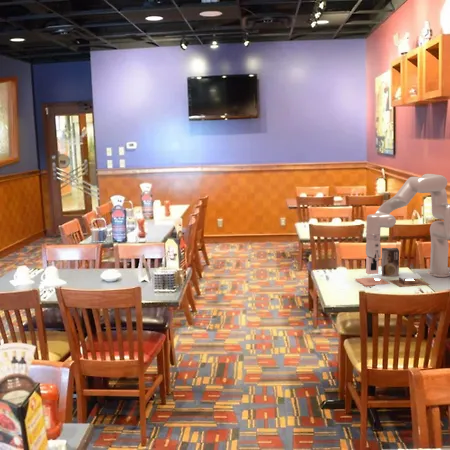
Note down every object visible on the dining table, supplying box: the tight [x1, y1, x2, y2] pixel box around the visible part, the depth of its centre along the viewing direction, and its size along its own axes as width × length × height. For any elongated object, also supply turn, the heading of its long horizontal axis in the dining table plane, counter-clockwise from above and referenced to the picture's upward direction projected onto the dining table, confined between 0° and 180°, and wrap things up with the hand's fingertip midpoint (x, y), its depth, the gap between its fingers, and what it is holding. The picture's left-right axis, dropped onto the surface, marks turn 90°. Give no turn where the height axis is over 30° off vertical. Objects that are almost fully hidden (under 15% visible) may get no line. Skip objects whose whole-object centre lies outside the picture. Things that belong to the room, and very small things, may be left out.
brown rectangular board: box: [388, 277, 431, 288], centre depth 333 cm, size 18×14×3 cm
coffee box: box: [381, 247, 400, 277], centre depth 350 cm, size 9×6×16 cm
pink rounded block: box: [365, 256, 380, 275], centre depth 336 cm, size 6×3×9 cm, turn 101°
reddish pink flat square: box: [354, 276, 391, 288], centre depth 338 cm, size 14×14×1 cm
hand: (372, 269), depth 336 cm, fingers closed on pink rounded block, 2 cm apart
